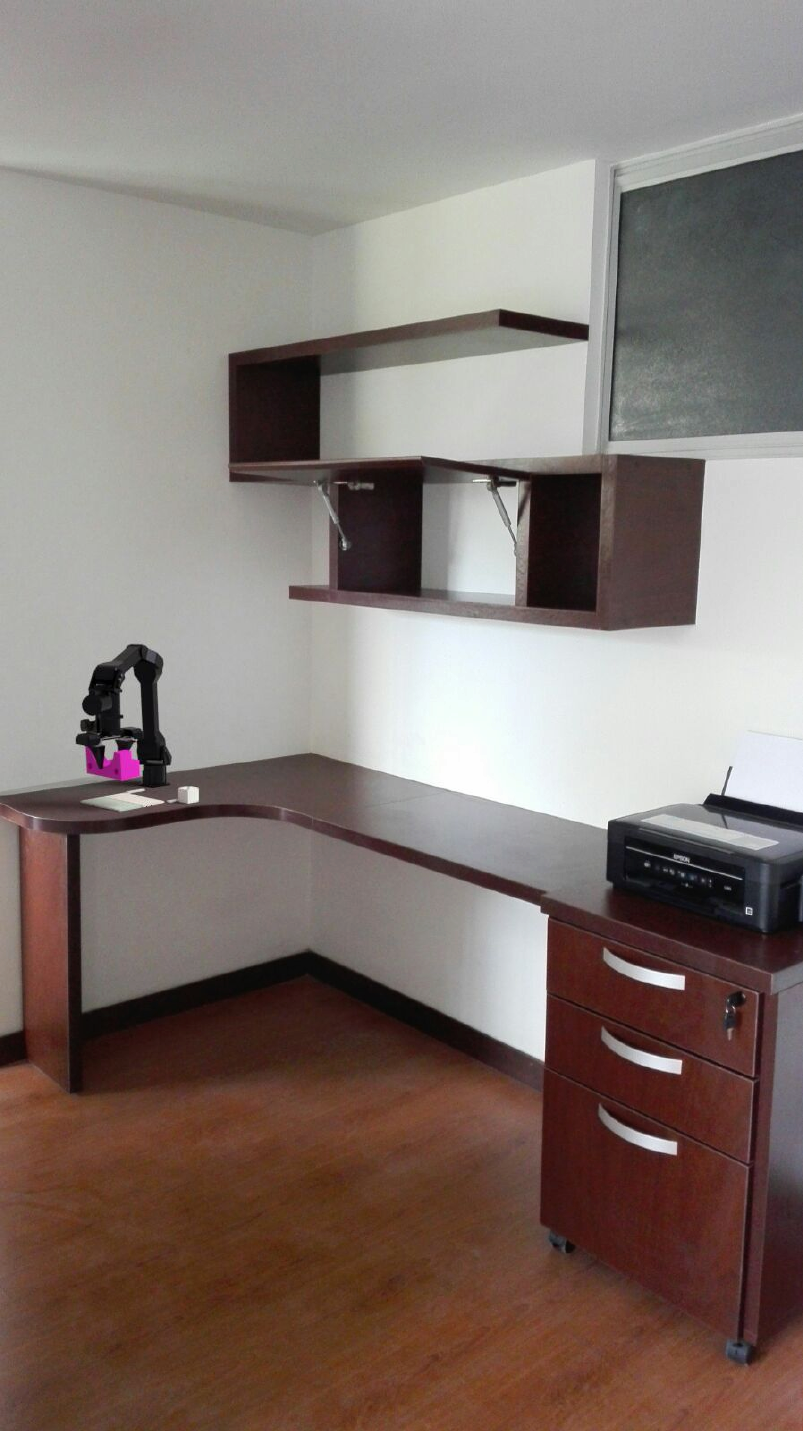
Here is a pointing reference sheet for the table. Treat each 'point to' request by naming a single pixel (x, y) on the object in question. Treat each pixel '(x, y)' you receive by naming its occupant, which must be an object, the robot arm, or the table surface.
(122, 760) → the toy block
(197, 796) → the die
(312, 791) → the table surface
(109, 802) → the game board
